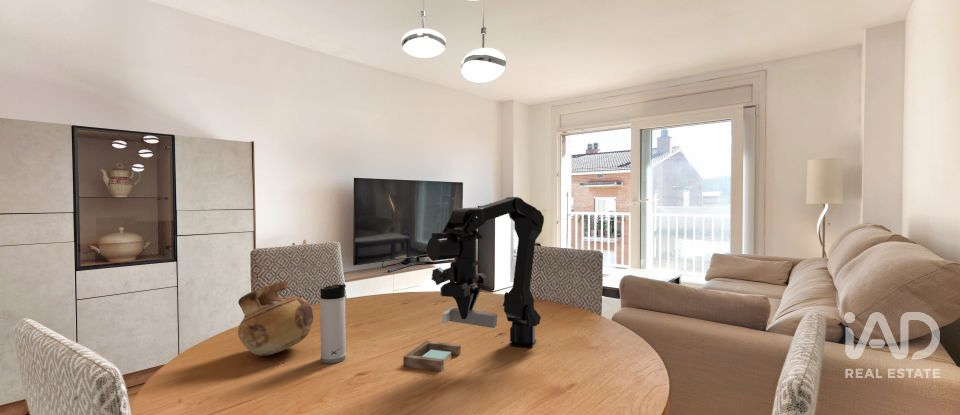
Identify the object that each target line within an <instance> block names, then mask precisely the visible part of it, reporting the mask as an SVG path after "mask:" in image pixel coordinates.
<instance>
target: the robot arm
mask: <svg viewBox="0 0 960 415" xmlns="http://www.w3.org/2000/svg"><path fill="white" fill-rule="evenodd" d="M505 215H508V216H509V219H510V220H512V221H513V222H514V231H515V233H516V235H517V240H518V241H517V248H516V250H517V251H516V257H515V264H514V265H515V267H514V272H513V283H512V288H511V289H510V290H509V291H508V292H507V291H505V292H504V300H503V303H502V307H503V313H505V316H506V320H507V322H511V326H510V328H509V341H510V344H509V345H510V346H512V347H521V348H530V349H532V348H533V347H534V346H535V344H536V343H537V339H536V327H537V326H538V325H540V322H541V315H540V314H539V313H538V311H537V310H536V309H535V300H534V296H533V294H532V292H531V282H532V281H531V280H532V272H533V264H534V256H535V255H534V254H535V247H536V246H535V245H536V241H537V239H538V237H539V236H540V235H541V233H542V232H543V227H544V222H545V218H544V217H545V216H544V215H543V213H542V212H541V210H539V209H537V208H536V207H535V206H533V205H531V204H529V203H527V202H525V201H524V200H523V199H522V198H521V197H519V196H507V197H506V198H503V199H501V200H497V201H494V202H490V203H487V204H483V205H479V206H478V207H463V208H462V207H460V208H455V209H453V210H452V211H451V214H450V217H449V219H448V221H447V223H446V225H445V226H444V228H443V230H442V232H431V237H430V238H429V240H428V242H427V245H426V246H425V247H426V248H425V249H426V255H427V257H428V258H429V259H430V260H431V261H432V262H437V261H445V260H453V261H451V262H450V267H447V268H445V269H443V268H441V267H438V268H434V269H432V274H431V281H433V282H435V285H436V286H438V285H441V284H442V283H444V284H443V285H442V286H441V287H440V288H439V289H440V296H441V297H447V298H453V299H454V300H455V301H456V302H455V303H456V304H457V308H458V309H459V312H460V315H461V318H462V319H466V317H467V314H468V311H469V310H473V309H474V307H475V304H476V302H477V300H478V297H479V296H480V293H481V291H482V289H483V288H482V287H478V285H477V284H481V285H482V286H486V285H488V276H487V275H486V274H485V273H482V272H481V273H479V272H477V266H478V265H480V260H479V259H477V240H481V239H483V238H484V237H483V235H482V234H481V233H480V232H479V231H478V230H479V229H480V228H482V227H483V226H484V225H485V224H486V223H487V222H488V221H491V220H493V219H496V218H499V217H503V216H505ZM445 282H446V283H445Z"/></svg>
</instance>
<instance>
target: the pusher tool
mask: <svg viewBox="0 0 960 415" xmlns="http://www.w3.org/2000/svg"><path fill="white" fill-rule="evenodd" d="M449 322H454V323H459V324H465V325H470V326H479V327H483V328H484V327H485V328H490V329H495V328H496V327H497V325H498V313H493V312H487V311H481V310H475V309H474V310H473V309H472V310H469V311H468V314H467V317H466V319H462V318H461V315H460V312H459V309H458V307H456V306H455V307H454V306H452V307H450V308H448V309H447V310H445V311H444V312H442V313H441V323H442V324H447V323H449Z"/></svg>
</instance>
